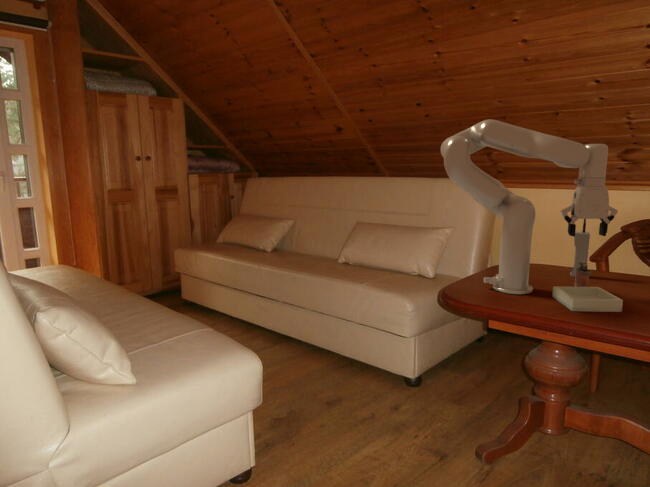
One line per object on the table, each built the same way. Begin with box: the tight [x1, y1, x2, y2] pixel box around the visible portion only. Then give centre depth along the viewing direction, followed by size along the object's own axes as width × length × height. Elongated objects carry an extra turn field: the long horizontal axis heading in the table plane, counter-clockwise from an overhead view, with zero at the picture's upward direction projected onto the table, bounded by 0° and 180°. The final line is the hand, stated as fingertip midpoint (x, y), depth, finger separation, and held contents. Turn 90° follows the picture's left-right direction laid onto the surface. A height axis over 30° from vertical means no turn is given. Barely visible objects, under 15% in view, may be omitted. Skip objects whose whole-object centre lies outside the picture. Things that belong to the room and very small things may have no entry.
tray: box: [552, 285, 624, 313], centre depth 142 cm, size 14×14×4 cm
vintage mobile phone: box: [569, 219, 591, 278], centre depth 172 cm, size 4×5×25 cm
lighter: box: [573, 261, 591, 287], centre depth 154 cm, size 8×3×10 cm, turn 168°
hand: (586, 235), depth 152 cm, fingers open, 9 cm apart
